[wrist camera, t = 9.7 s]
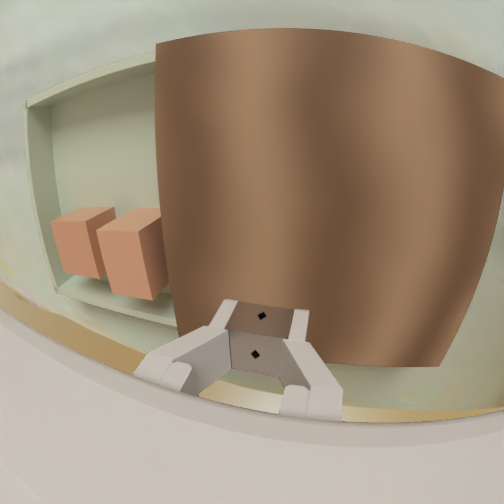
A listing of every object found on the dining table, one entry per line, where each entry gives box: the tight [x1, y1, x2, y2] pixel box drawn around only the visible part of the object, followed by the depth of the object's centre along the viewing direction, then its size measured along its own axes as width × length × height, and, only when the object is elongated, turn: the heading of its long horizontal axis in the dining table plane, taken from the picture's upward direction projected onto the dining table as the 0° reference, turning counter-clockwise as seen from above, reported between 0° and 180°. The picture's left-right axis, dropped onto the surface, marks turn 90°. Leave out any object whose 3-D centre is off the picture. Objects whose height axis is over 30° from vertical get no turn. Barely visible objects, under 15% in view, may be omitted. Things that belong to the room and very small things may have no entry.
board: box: [155, 28, 504, 367], centre depth 13 cm, size 16×16×4 cm
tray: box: [23, 51, 177, 327], centre depth 16 cm, size 13×16×3 cm
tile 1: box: [50, 207, 116, 279], centre depth 17 cm, size 4×4×3 cm
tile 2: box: [96, 208, 169, 300], centre depth 16 cm, size 4×4×3 cm
